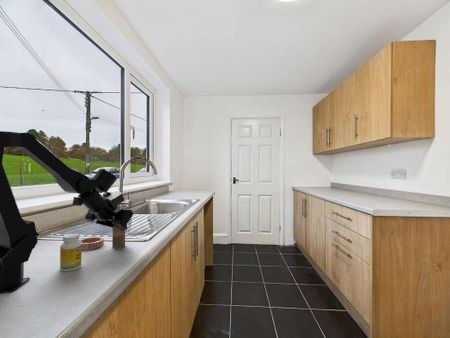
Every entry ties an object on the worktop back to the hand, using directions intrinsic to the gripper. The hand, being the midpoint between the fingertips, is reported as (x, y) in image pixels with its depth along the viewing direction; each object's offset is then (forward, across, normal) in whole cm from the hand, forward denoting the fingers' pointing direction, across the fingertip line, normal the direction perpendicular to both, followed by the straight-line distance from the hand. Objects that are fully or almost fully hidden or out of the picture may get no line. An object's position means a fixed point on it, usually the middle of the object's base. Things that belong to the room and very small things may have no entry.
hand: (122, 228), depth 91 cm
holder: (+1, +10, +9) cm, 13 cm away
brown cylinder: (+4, 0, +6) cm, 7 cm away
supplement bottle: (-10, -3, +20) cm, 22 cm away
